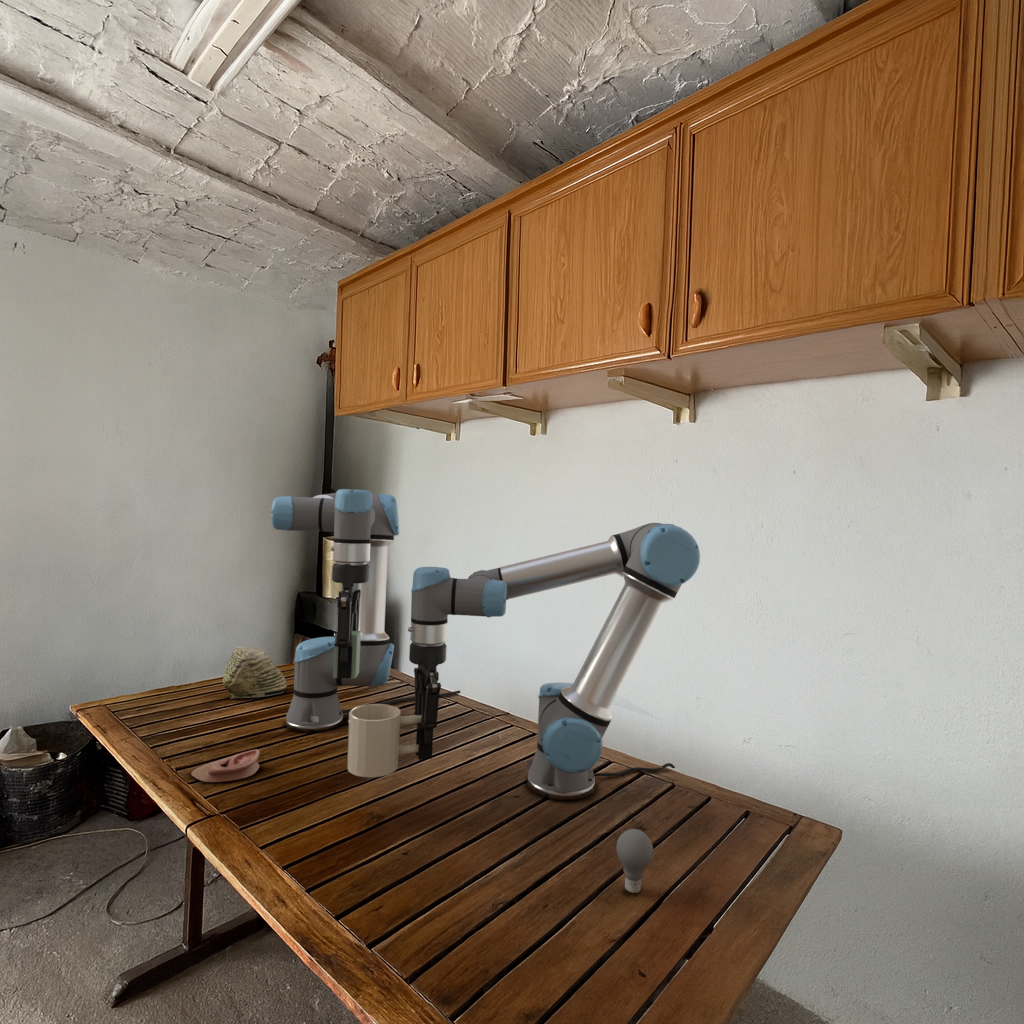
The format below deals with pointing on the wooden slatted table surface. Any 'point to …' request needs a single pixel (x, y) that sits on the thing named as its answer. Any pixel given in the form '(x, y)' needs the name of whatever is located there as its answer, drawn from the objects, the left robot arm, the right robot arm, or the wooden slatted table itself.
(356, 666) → the block
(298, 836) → the wooden slatted table surface
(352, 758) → the mug
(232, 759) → the anatomical model
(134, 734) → the wooden slatted table surface
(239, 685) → the fossil
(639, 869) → the light bulb
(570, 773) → the right robot arm
